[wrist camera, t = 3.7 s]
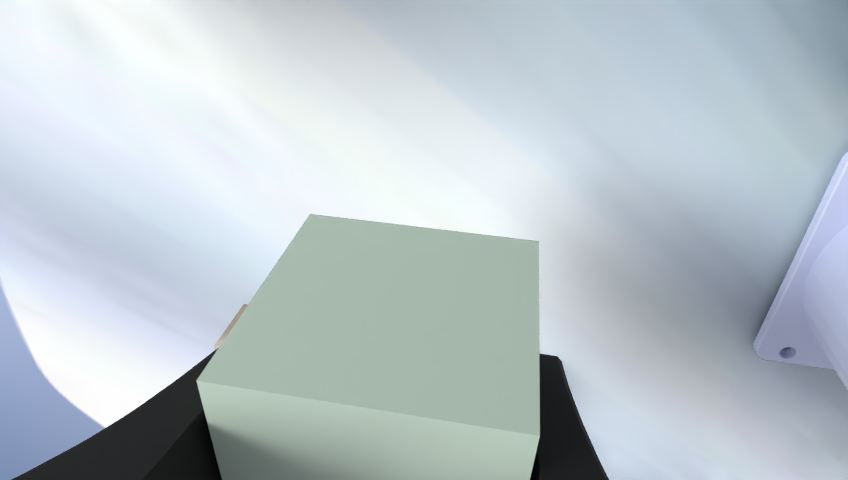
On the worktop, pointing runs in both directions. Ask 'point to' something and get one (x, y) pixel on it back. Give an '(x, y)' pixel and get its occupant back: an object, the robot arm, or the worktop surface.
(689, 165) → the worktop surface
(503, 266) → the sage cube
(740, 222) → the worktop surface
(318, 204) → the worktop surface
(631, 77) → the worktop surface
